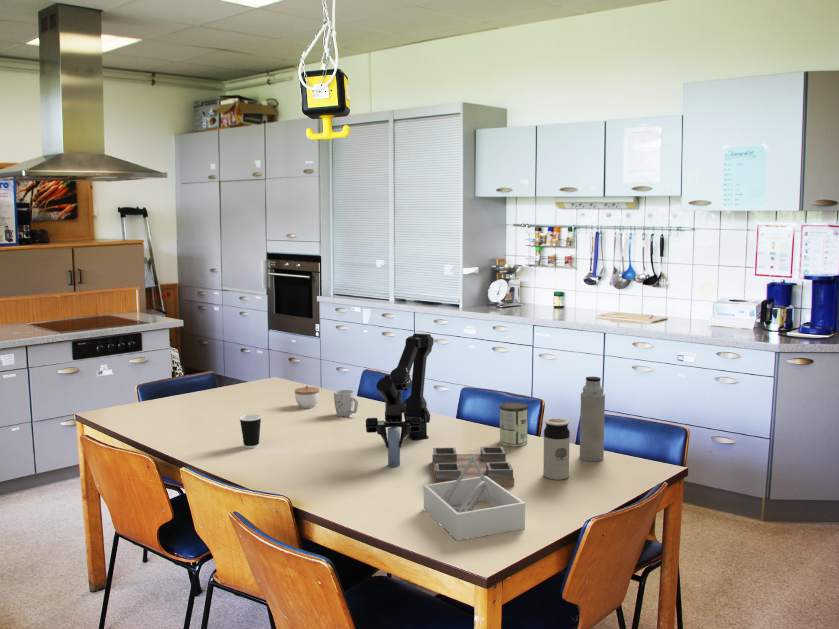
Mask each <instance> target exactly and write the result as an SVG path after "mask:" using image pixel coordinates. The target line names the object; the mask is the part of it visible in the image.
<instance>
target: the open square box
mask: <svg viewBox="0 0 839 629" xmlns="http://www.w3.org/2000/svg"><path fill="white" fill-rule="evenodd" d="M484 478H485V480H486V482H487V484H488V486H489V488H490V490H491V492H492V494H493V497H494V499H495V501H496V503H497V505H498V506H497V507H494V505H493V503H492V501H491V498H490V496H489V494H488V492H487V490H486V488H485V489H484V491H483V492H482V494H481V495H480V497H479V498H478V500H477V501H476V503H478V502H483V501H485V502H486V503H488V504H489V505H490V506H492V507H487V508H481V509H480V508H479V509H476V510H473V511H467V512H464V511H463V512H461V513H458V512H459V511H456V510H454V509H453V508H452V507H451V506H453V507H454V506H457V505H463V503H464V502H465V500H466V499H467V498H468V496H469V495H470V493H471V492H472V491H473V490H474V488H475V487H476V486H477V485H478V484H479V483H480V482H481V481H482V479H481V477H475V478H468V479H462V480H461V481H460V483H459V484H458V486H457V487H456V489H455V490H454V492H453V494H452V495H451V497H450V498H449V500H448V501H447V503H446V502H445V501H444V500H445V498H446V496H447V495H448V493H449V492H450V490H451V489H452V487H453V486H454V484H455V482H456V481H457V480H455V481H448V482H441V483H435V482H434V483H429V484H423V510H424V509H425V510H426V511H427V512H428V513H429V514H430V515H431V516H432V517H431V516H430V515H429V516H430V517H431V518H433V520H434V521H436V522H437V521H438V522H439V523H440V524H441V525H442V526H443V527H444V528H445V529H446V530H447V531H448V532H449V533H450V534H451V535H452V536H453V537H454V538H455V539H456V540H460V539H466V540H468V539H467V538H471V539H474V538H473V537H477V538H481V536H482V537H486V535H488V536H492V535H498V533H499V534H503V533H509V532H514V531H520V530H525V528H526V503H525V502H524V501H523V500H521V499H520V498H518V497H517V496H516V495H514V494H513V493H512V492H510V491H508V490H507V489H506V488H504V486H500V485H499V484H497V483H496V482H494V481H493V480H491V479H490V478H489V477H487V476H484ZM479 489H480V488H479ZM479 489H478V491H479ZM478 491H477V492H476V493H475V494H474V496H473V497H472V498H471V500H470V501H469V503H468V504H470V503H471V502H472V500H473V499H474V497H475V496H476V494H477V493H478ZM425 510H424V511H425ZM426 511H425V512H426ZM427 512H426V513H427ZM428 513H427V514H428ZM438 522H437V523H438ZM439 523H438V524H439ZM440 524H439V525H440ZM441 525H440V526H441ZM442 526H441V527H442ZM443 527H442V528H443ZM444 528H443V529H444ZM445 529H444V530H445ZM446 530H445V531H446ZM447 531H446V532H447ZM448 532H447V533H448ZM449 533H448V534H449ZM450 534H449V535H450ZM451 535H450V536H451ZM452 536H451V537H452ZM453 537H452V538H453ZM454 538H453V539H454ZM455 539H454V540H455ZM456 540H455V541H456ZM460 541H461V540H460Z"/></svg>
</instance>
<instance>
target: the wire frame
mask: <svg viewBox="0 0 839 629" xmlns="http://www.w3.org/2000/svg"><path fill="white" fill-rule="evenodd" d="M472 462H474V465H475V467H476V469H477V471H478V473H479V475H480V477H481V479H482V481H481V482H480V483H479V484H478V485H477V486H476V487H475V488H474V490H473V491H472V492H471V493H470V495H469V496H468V498H467V499H466V500H465V502H464V503H463V504H461V507H458V506H454V505H453V506H451V507H452V508H453V509H454V510H457V512H458V513H461V512H467V511H473V510H477V509H475V508H473V507H474V506H475V504H476V503H477V502H478V501H477V500H478V498H479V497H480V495H481V494H482V492H483V491H484V489H485V488H486V490H487V492H488V494H489V496H490V498H491V501H492V503H493V505H494V507H497V506H498V505H497V503H496V501H495V499H494V497H493V494H492V492H491V490H490V488H489V486H488V484H487V482H486V480H485V478H484V475H483V473H482V471H481V469H480V467H479V465H478V463H477V461H476V459H475V456H472V458H471V459H470V461H469V462H468V464H467V465H466V467H465V468H464V470H463V472H462V473H461V475H460V476H459V478H458V479H457V481H456V482H455V484H454V486H453V487H452V489H451V490H450V492H449V493H448V495H447V496H446V498H445V500H444V501H445V502H446V503H447V501H448V500H449V498H450V497H451V495H452V494H453V492H454V490H455V489H456V487H457V486H458V484H459V483H460V481H461V480H462V478H463V476H464V475H465V473H466V472H467V470H468V469H469V467H470V466H471V464H472ZM479 488H480V489H479ZM478 489H479V491H478ZM477 491H478V493H477V494H476V496H475V497H474V499H473V500H472V502H471V503H469V501H470V500H471V498H472V497H473V496H474V494H475V493H476V492H477ZM476 501H477V502H476ZM468 504H469V505H468Z"/></svg>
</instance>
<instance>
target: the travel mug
mask: <svg viewBox="0 0 839 629" xmlns="http://www.w3.org/2000/svg"><path fill="white" fill-rule="evenodd" d="M544 423H545V428H544V430H543V474H542V475H543V476H544V477H545V478H547V479H549V480H555V481H562V480H566V479H568V478H569V477H570V440H571V439H570V429H569V426H568V425H569V423H570V421H569V420H567V419H566V418H562V417H561V418H560V417H550V418H546V419H545V420H544Z"/></svg>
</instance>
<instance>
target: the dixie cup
mask: <svg viewBox="0 0 839 629" xmlns="http://www.w3.org/2000/svg"><path fill="white" fill-rule="evenodd" d="M238 419H239V422H240V427H241V428H240V429H241V435H242V442H243V445H244V448H245V449H249V448H251V449H256V448H258V447H259V444H260V435H261V434H260V432H261V422H262V420H261V419H262V415H260V414H244V415H241V416H240V417H239V418H238ZM255 447H256V448H255Z"/></svg>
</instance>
